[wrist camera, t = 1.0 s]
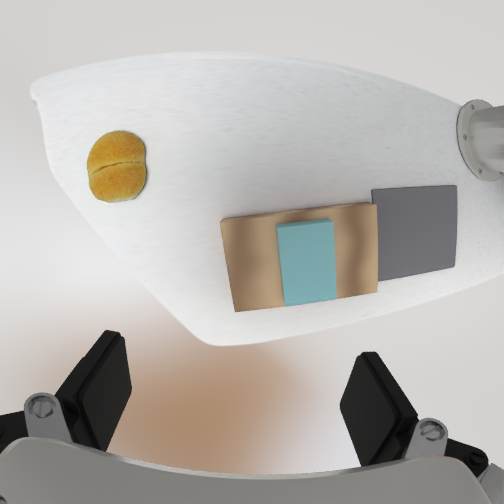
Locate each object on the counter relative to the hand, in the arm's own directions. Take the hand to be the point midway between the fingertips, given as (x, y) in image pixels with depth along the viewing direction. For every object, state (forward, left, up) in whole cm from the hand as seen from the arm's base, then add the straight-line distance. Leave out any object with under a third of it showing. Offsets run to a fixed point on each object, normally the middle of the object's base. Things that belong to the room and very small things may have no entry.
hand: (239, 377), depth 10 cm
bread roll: (+15, -11, -26) cm, 32 cm away
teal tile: (-6, +3, -22) cm, 23 cm away
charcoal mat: (-22, +2, -25) cm, 34 cm away
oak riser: (-6, +3, -25) cm, 26 cm away
